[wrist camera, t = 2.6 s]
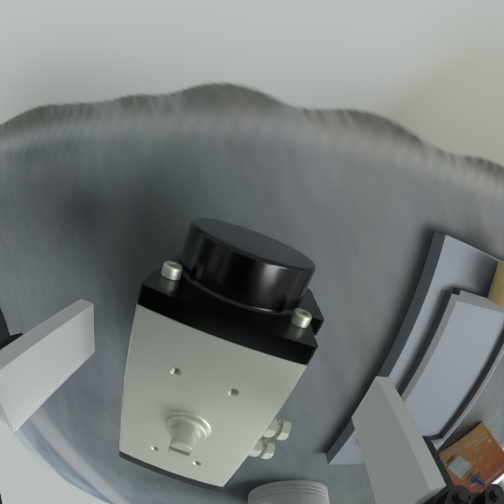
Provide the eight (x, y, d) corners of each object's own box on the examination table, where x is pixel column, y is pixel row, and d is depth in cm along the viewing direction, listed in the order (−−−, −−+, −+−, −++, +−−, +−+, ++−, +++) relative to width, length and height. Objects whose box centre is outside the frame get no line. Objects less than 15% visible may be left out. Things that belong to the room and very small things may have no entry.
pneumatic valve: (175, 357, 19) (110, 483, 7) (223, 206, 17) (132, 234, 5) (244, 381, 19) (226, 521, 7) (307, 238, 17) (390, 328, 5)
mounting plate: (429, 446, 21) (444, 473, 16) (326, 453, 21) (333, 493, 16) (524, 273, 16) (557, 288, 11) (434, 231, 16) (481, 245, 11)
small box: (482, 419, 20) (514, 464, 10) (481, 434, 21) (509, 474, 11) (436, 454, 22) (462, 505, 11) (439, 465, 22) (462, 510, 12)
